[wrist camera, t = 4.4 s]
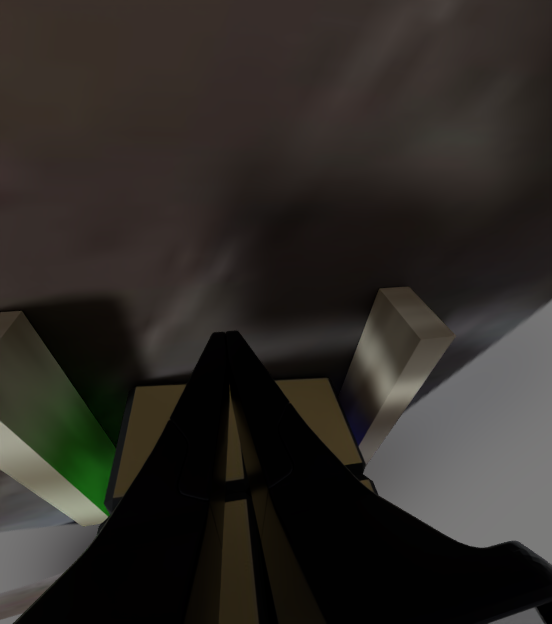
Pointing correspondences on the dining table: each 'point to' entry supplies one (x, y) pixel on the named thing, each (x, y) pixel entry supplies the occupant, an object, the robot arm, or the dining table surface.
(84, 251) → the dining table surface
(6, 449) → the lane rails
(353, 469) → the puzzle cube
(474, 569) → the robot arm
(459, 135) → the dining table surface
